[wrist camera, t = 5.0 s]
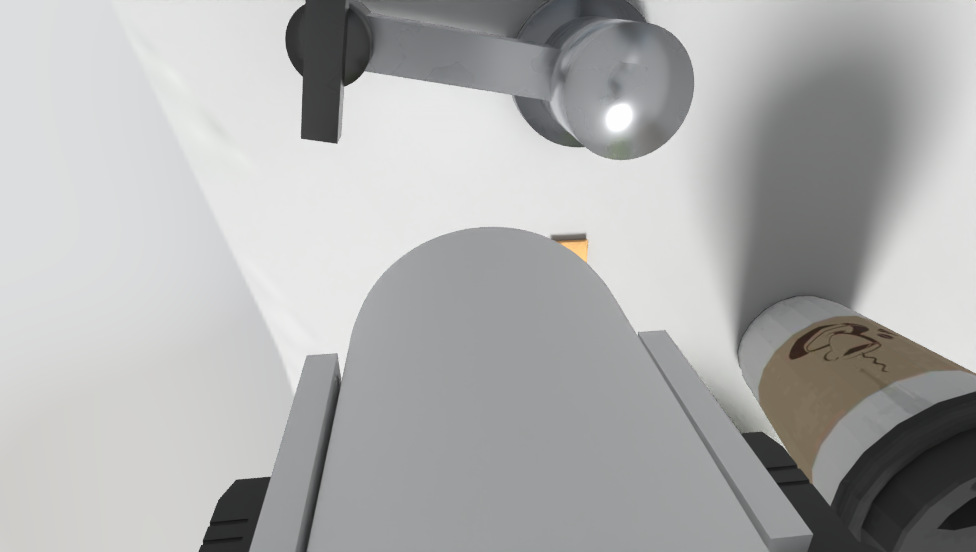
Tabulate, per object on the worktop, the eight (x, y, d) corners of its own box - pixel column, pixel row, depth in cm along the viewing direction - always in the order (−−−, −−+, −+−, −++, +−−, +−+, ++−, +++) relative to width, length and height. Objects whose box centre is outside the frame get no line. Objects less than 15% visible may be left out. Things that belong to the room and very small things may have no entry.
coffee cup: (863, 232, 35) (1147, 384, 21) (885, 371, 40) (1126, 565, 26) (684, 312, 36) (847, 505, 22) (728, 437, 41) (882, 657, 27)
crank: (655, 14, 27) (736, 22, 20) (620, 145, 29) (683, 190, 22) (317, -51, 24) (279, -68, 17) (311, 98, 26) (276, 135, 20)
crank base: (509, -9, 27) (513, -9, 26) (656, -10, 27) (666, -10, 26) (506, 306, 34) (509, 317, 33) (623, 299, 35) (629, 309, 34)
